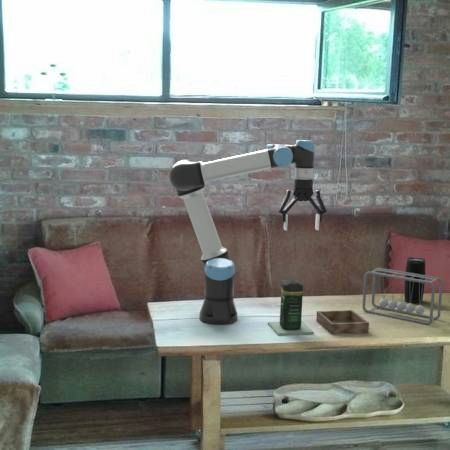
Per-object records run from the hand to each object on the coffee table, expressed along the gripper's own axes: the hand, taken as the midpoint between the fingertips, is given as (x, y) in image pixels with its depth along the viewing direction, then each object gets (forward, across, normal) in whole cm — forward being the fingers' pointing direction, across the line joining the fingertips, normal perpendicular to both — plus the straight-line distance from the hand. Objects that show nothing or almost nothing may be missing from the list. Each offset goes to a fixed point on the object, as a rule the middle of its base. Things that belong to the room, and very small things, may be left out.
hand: (301, 230), depth 285 cm
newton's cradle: (+35, +41, -11) cm, 55 cm away
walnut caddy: (+35, +11, -22) cm, 43 cm away
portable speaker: (+35, +57, +9) cm, 67 cm away
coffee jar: (+34, -10, -22) cm, 42 cm away
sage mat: (+35, -10, -22) cm, 42 cm away
